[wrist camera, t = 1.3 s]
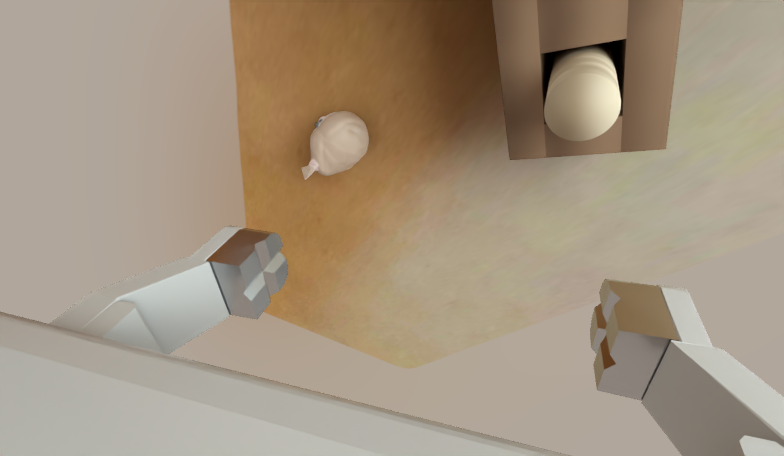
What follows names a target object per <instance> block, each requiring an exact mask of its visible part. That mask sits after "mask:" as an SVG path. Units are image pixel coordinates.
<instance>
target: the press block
mask: <svg viewBox="0 0 784 456" xmlns="http://www.w3.org/2000/svg"><path fill="white" fill-rule="evenodd" d="M492 6H493V15H494V24H495V33H496V42H497V51H498V59H499V68H500V77H501V86H502V95H503V104H504V113H505V121H506V130H507V139H508V148H509V157H510V160H519V159H533V158H547V157H561V156H575V155H590V154H604V153H618V152H632V151H646V150H660V149H666V143H667V135H668V126H669V118H670V109H671V101H672V92H673V84H674V75H675V67H676V58H677V49H678V41H679V32H680V24H681V15H682V7H683V0H492ZM610 41H616V42H615V69H616V74H617V80H618V86H619V92H620V98H621V109H620V113H619V115H618V118H617V119H616V121H615V123H614V124H613V125H612V126H611V127H610V128H609V129H608V130H607V131H606V132H605V133H603V134H601V135H600V136H598V137H596V138H593V139H590V140H585V141H570V140H566V139H563V138H561V137H559V136H557V135H556V134H555V133H553V132H552V131H551V129H550V128H549V127H548V125H547V123H546V121H545V117H544V107H545V101H546V96H547V91H548V86H549V81H550V76H551V70H552V55H551V52H553V51H559V50H565V49H570V48H576V47H582V46H588V45H593V44H599V43H605V42H610Z"/></svg>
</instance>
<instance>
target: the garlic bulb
mask: <svg viewBox="0 0 784 456" xmlns="http://www.w3.org/2000/svg"><path fill="white" fill-rule="evenodd" d="M315 126H316V128H315V129H314V131H313V133H312V134H311V137H310V152H311V161H310V163H309V164H308V166H306V167H303V168H302V171H303V175H304V179H305V180H306V179H307V178H308V177H310V176H311V175H312V173H313V172H314V171H317V172H318V173H319V174H322V175H324V176H330V175H333V174H336V173H340V172H342V171H346V170H348V169H350V168H351V167H353V166H354V164H355V163H357V162H359V160H360V159H361V158H362V157H363V156H364V155H365V154H366V152H367V149H368V144H369V136H368V131H367V128H366V125H365V123H364V121H363V120H362V119H360V118H359V117H358V116H357V115H355V114H354V113H351V112H349V111H339V112H333V113H330V114H328V115H326V116H325V117H324V116H323V117H321V118H319V120H318V122H316V123H315Z"/></svg>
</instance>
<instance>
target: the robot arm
mask: <svg viewBox="0 0 784 456" xmlns="http://www.w3.org/2000/svg"><path fill="white" fill-rule="evenodd" d="M282 247H283V244H282V241H281V238H280V236H279V235H278V234H276V233H273V232H267V231H261V230H255V229H249V228H242V227H234V226H227V227H224V228H223V229H222V230H220V231H219V232H218V233H217V234H216V235H215V236H213V237H212V238H211V239H210V240H209V241H208V242H207V243H205V244H204V245H203V246H202V247H201V248H199V249H198V250H197V251H196V252H195V253H194V254H192V255H191V256H190V257H189V258H181V259H178V260H176V261H173V262H170V263H168V264H165V265H162V266H160V267H157V268H154V269H152V270H149V271H146V272H144V273H141V274H138V275H135V276H133V277H130V278H128V279H125V280H122V281H119V282H117V283H114V284H111V285H109V286H107V287H103V288H101V289H98V290H96V291H93V292H90V293H89V294H88V295H86V296H85V297H84V298H82V299H81V300H80V301H79V302H77V303H76V304H74V305H73V306H72V307H70V308H69V309H68V310H67V311H65V312H64V313H63V314H61V315H60V316H59V317H57V318H56V319H55V320H53V321H52V322H51V323H49V324H46V323H43V322H39V321H35V320H30V319H27V318H23V317H19V316H15V315H11V314H7V313H3V312H0V456H570V455H566V454H561V453H558V452H554V451H550V450H546V449H542V448H538V447H534V446H530V445H526V444H522V443H518V442H514V441H510V440H506V439H502V438H498V437H494V436H490V435H486V434H483V433H479V432H474V431H470V430H466V429H462V428H459V427H455V426H451V425H447V424H443V423H439V422H435V421H431V420H427V419H423V418H419V417H415V416H411V415H407V414H403V413H399V412H395V411H391V410H387V409H383V408H379V407H375V406H372V405H368V404H364V403H360V402H355V401H352V400H348V399H344V398H340V397H336V396H332V395H328V394H324V393H320V392H316V391H312V390H308V389H304V388H300V387H296V386H292V385H289V384H284V383H280V382H277V381H273V380H269V379H265V378H261V377H257V376H253V375H249V374H245V373H241V372H237V371H233V370H229V369H225V368H221V367H217V366H213V365H209V364H205V363H201V362H197V361H194V360H189V359H186V358H182V357H177V356H174V355H170V353H171V352H173V351H174V350H176V349H178V348H179V347H181V346H182V345H184V344H186V343H187V342H189V341H190V340H192V339H194V338H195V337H197V336H199V335H200V334H202V333H203V332H205V331H207V330H208V329H210V328H211V327H213V326H215V325H216V324H218V323H220V322H221V321H223V320H224V319H226V318H228V317H229V316H230V315H235V316H240V317H247V318H252V319H258V318H259V316H260V315H261V314H262V313H263V311H264V310H265V309H266V307H267V306H268V305H269V304H270V295H272V294H274V293H276V292H278V291H280V289H281V288H282V287H283V285H284V284H285V281H286V278H287V275H288V264H287V260H286V258H285V257H284V256H283V255H282V254H281V252H280V250H281V248H282ZM599 293H600V300H601V304H599V305H598V306H596V307H595V309H594V312H593V316H592V321H591V329H590V338H591V348H592V349H593V350H594V351H595V353H596V354H597V355H596V359H595V361H594V371H595V379H596V386H597V390H599V391H603V392H608V393H612V394H616V395H620V396H625V397H629V398H633V399H637V400H641V401H642V404H643V405H644V406H645V408H646V409H647V410H648V412H649V413H650V414H651V416H652V417H653V418H654V419H655V421H656V422H657V423H658V425H659V426H660V427H661V428H662V430H663V431H664V433H665V434H666V435H667V436H668V437H669V439H670V440H671V442H672V443H673V444H674V445H675V447H676V448H677V449H678V451H679V452H680V453H681V455H682V456H784V397H783V396H782V395H780V394H779V393H778V392H776V391H775V390H774V389H773V388H771V387H770V386H769V385H767V384H766V383H765V382H764V381H762V380H761V379H760V378H759V377H757V376H756V375H755V374H753V373H752V372H751V371H750V370H748V369H747V368H746V367H744V366H743V365H742V364H741V363H739V362H738V361H737V360H735V359H734V358H733V357H732V356H730V355H729V354H728V353H726V352H725V351H724V350H723V349H720V348H714V347H713V346H712V344H711V342H710V340H709V337H708V335H707V333H706V330H705V328H704V326H703V324H702V321H701V319H700V317H699V315H698V312H697V310H696V308H695V306H694V303H693V301H692V299H691V297H690V294H689V292H688V291H687V290H686V289H684V288H678V287H669V286H661V285H657V286H654V285H647V284H640V283H633V282H625V281H618V280H610V279H605V280H604V282H603V283H602V286H601V289H600V292H599Z"/></svg>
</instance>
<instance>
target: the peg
mask: <svg viewBox="0 0 784 456" xmlns="http://www.w3.org/2000/svg"><path fill="white" fill-rule="evenodd" d="M620 109H621V98H620V92H619V86H618V80H617V74H616V69H615V63H614V57H613V51H612V48H611V46H610V44H609V42H605V43H599V44H593V45H588V46H582V47H576V48H570V49H565V50H559V51H557V52H556V54H555V57H554V60H553V65H552V70H551V76H550V81H549V86H548V91H547V96H546V101H545V107H544V117H545V121H546V123H547V125H548V127H549V128H550V129H551V131H552V132H553V133H555V134H556V135H557V136H559V137H561V138H563V139H566V140H570V141H585V140H590V139H593V138H596V137H598V136H600V135H601V134H603V133H605V132H606V131H607V130H608V129H609V128H610V127H611V126H612V125H613V124H614V123H615V121H616V119H617V118H618V115H619V113H620Z"/></svg>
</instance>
